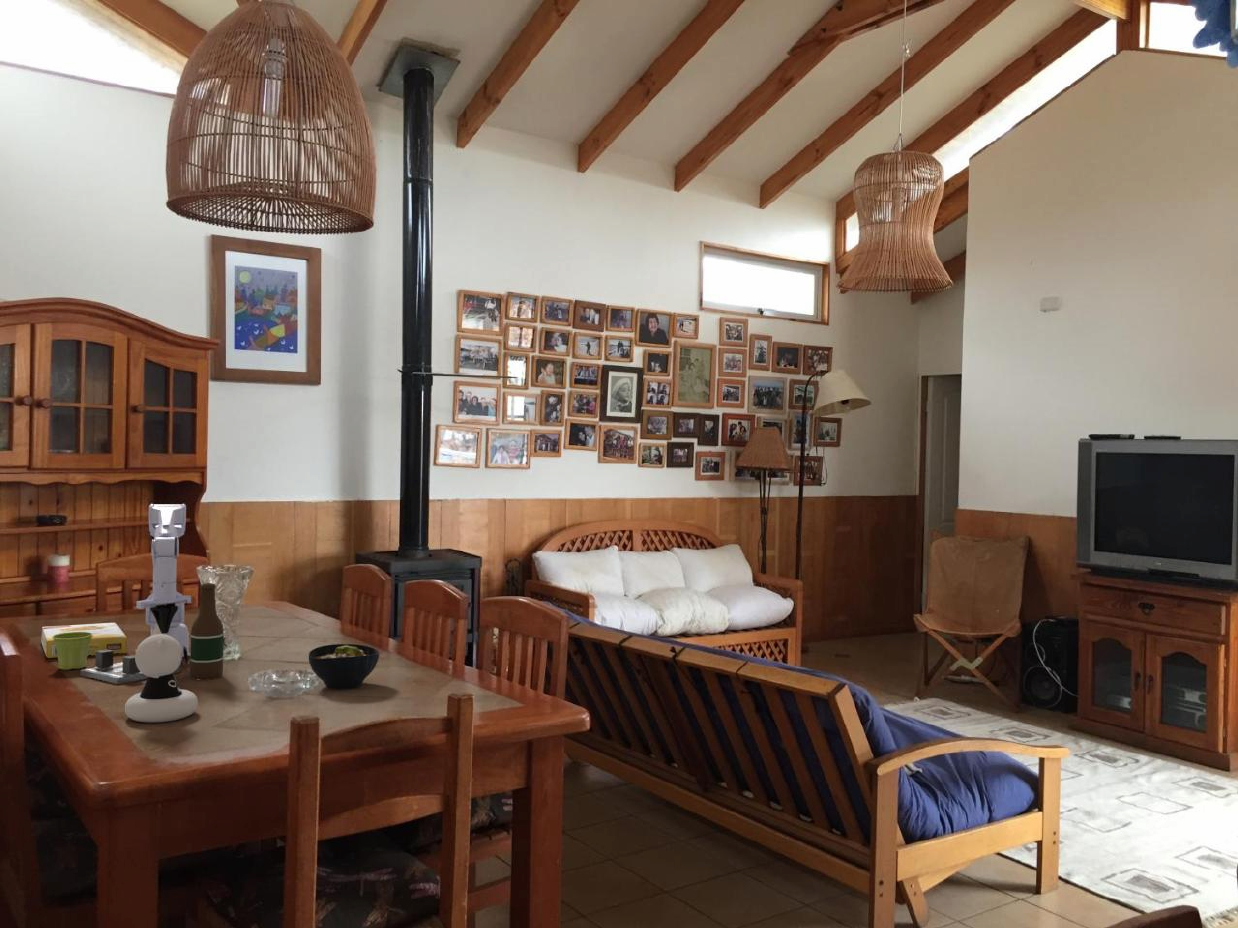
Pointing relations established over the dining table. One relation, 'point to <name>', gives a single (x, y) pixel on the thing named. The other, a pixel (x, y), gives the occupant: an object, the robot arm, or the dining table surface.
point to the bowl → (343, 664)
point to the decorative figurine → (160, 682)
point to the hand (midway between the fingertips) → (163, 632)
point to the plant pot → (72, 649)
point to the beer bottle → (207, 638)
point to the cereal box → (102, 639)
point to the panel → (114, 669)
